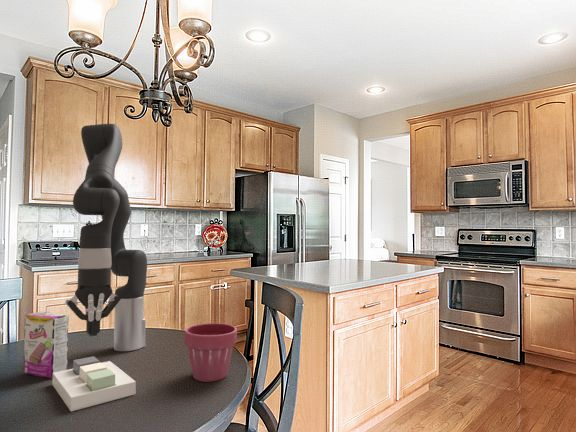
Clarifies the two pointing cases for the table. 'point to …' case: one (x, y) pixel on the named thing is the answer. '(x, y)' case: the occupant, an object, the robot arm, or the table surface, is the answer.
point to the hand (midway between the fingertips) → (92, 335)
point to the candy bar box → (45, 344)
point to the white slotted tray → (82, 397)
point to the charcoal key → (83, 363)
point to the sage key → (100, 379)
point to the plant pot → (210, 349)
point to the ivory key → (90, 370)
